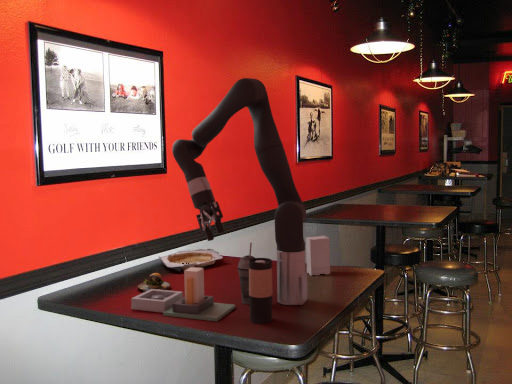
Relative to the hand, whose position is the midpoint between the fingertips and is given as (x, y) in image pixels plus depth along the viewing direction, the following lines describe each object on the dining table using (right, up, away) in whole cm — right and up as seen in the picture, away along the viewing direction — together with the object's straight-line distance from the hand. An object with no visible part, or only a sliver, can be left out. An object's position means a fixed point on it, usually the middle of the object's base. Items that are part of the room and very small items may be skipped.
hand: (216, 236), depth 181 cm
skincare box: (+38, -18, +33) cm, 53 cm away
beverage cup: (+11, -21, -5) cm, 25 cm away
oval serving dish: (-15, -17, +53) cm, 57 cm away
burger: (-23, -21, +13) cm, 34 cm away
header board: (-4, -22, -14) cm, 27 cm away
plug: (-6, -21, -13) cm, 25 cm away
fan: (-15, -22, -5) cm, 27 cm away
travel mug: (+15, -23, -24) cm, 36 cm away
